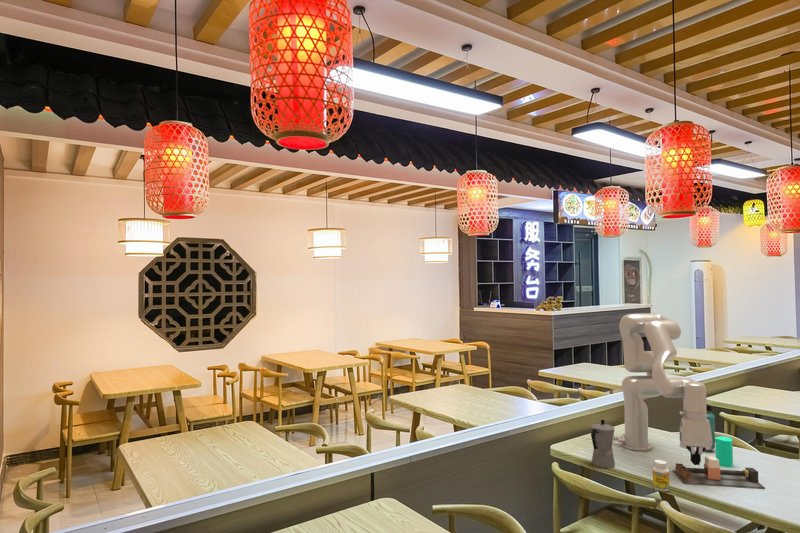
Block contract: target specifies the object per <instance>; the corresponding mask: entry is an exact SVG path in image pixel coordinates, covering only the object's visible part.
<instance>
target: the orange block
mask: <svg viewBox="0 0 800 533" xmlns="http://www.w3.org/2000/svg"><path fill="white" fill-rule="evenodd" d="M703 469H708V474H704V475H705V476H706V477H707V478H708V479H715V480H720V470H721V468H720V466H719V460H718V459H717V458H716V456H704V463H703Z"/></svg>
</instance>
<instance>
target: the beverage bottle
mask: <svg viewBox="0 0 800 533" xmlns="http://www.w3.org/2000/svg"><path fill="white" fill-rule="evenodd" d="M711 411H713V408H712V405H711V404H707V403H706V419H708V420H709V422H710V427H711V433H712V446H711V449H710V450H716V444H715V438H716V431H715V426H716V424H715V414H714V413H712V412H711Z"/></svg>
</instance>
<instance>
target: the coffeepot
mask: <svg viewBox="0 0 800 533" xmlns="http://www.w3.org/2000/svg"><path fill="white" fill-rule="evenodd" d="M605 422H606V421H605V419H600V423H595V424H591V425H590V429H591V433H590V437H591V442H592V446H593V451H592V459H591V464H592V465H593V466H595V467H598V468H601V469H612V468H614V467H615V464H616V462H615V457H614V456H615V455H614V450H613V443H614V442H613V441H614V436H615V428H616V427H614V426H612V424H608V423H607V424H605Z"/></svg>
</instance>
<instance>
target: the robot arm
mask: <svg viewBox="0 0 800 533" xmlns="http://www.w3.org/2000/svg"><path fill="white" fill-rule="evenodd" d="M681 330H682V329H681V327H680V325H679V323H678V322H676V321H675V320H673V319H672V318H669V317H667V316H665V315H662V314H659V313H654V312H653V313H652V312H651V313H647V312H646V313H645V312H644V313H643V312H640V313H627V314H625V315H623V316H622V317H621V319H620V322H619V332H620V333H619V334H620V336H621V339H622V350H623V351H622V352H623V364H624V369H625V370H626V371H627V372H628V373H636V374H637V373H639V374H640V373H646V374H645V375H629V376H626V377H624V378H623V380H622V381H621V388H622V389H621V390H622V394H623V402H624V403H623V404H624V405H623V406H624V433H622V435H621V436H618V435H614V436H613V441H616V442H618V443H621V444H620V445H621V446H622V447H623V448H625V449H628V450H632V451H638V452H648V451H651V450H652V449H653V445H652V444H651V443H649V412H648V411H649V409H648V405H647V404H646V402H645V401H644V398H655V397H660V396H662V397H664V398H668V399H672V398H673V399H674V398H675V399H676V398H683V399H682V400H683V403H682V404H683V409H682V411H679V415H680V416H682V417H681V421H680V423H679V442H680V443H679V448H682V449H685V450H688V452H689V453H690V462H691V463H692V464H693V465H694V466H700V464H701V463H702V462H701V461H702V459H701V458H702V455H703V453H704V452H705V451H709V450H712V449H711V446H712V433H711V427H710V422H709V420H708V419H706V412H707V411H706V404H707V387H706V385H705V384H704V383H703V382H700V381H696V380H694V379H692V378H689V377H668V376H667V374H666V372H665V368H664V365H665V363H667V362H669V361H671V360H673V359H674V358H675V357H676V356H677V354H678V351H677V349H676V346H675V344H674V342H673V341H676V340H679V338H680V337H681V334H682V331H681ZM639 333H644V334H645V337H646V339H647V342H648V344H649V346H650V348H651V350H645V348H644V340H643V339H642V336H641V335H640V334H639Z"/></svg>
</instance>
